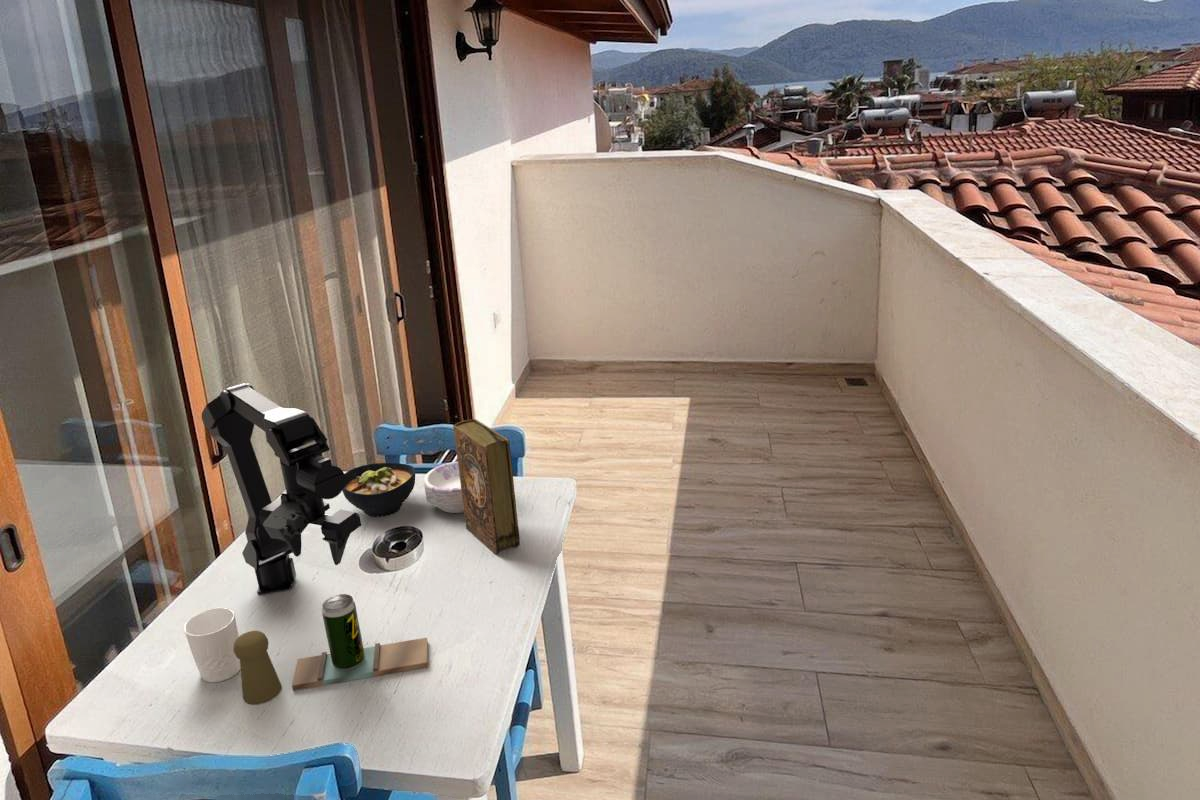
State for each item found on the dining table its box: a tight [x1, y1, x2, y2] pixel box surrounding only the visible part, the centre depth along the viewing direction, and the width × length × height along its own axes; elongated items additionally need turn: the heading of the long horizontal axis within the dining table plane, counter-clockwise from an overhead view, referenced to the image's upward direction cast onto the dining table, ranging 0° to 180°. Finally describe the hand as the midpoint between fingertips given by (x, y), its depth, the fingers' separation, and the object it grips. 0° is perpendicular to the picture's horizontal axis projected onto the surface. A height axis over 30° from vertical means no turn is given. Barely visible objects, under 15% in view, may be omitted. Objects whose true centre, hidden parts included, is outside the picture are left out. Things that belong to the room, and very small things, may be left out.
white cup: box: [183, 607, 241, 683], centre depth 140 cm, size 8×8×10 cm
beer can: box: [321, 593, 365, 671], centre depth 138 cm, size 5×5×12 cm
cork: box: [234, 630, 283, 706], centre depth 133 cm, size 6×6×11 cm
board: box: [291, 637, 429, 691], centre depth 140 cm, size 22×7×2 cm, turn 101°
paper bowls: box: [423, 461, 464, 514], centre depth 193 cm, size 15×15×8 cm
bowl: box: [342, 462, 416, 518], centre depth 193 cm, size 17×17×10 cm
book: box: [452, 418, 521, 555], centre depth 175 cm, size 16×6×25 cm, turn 34°
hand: (317, 559), depth 149 cm, fingers open, 9 cm apart
